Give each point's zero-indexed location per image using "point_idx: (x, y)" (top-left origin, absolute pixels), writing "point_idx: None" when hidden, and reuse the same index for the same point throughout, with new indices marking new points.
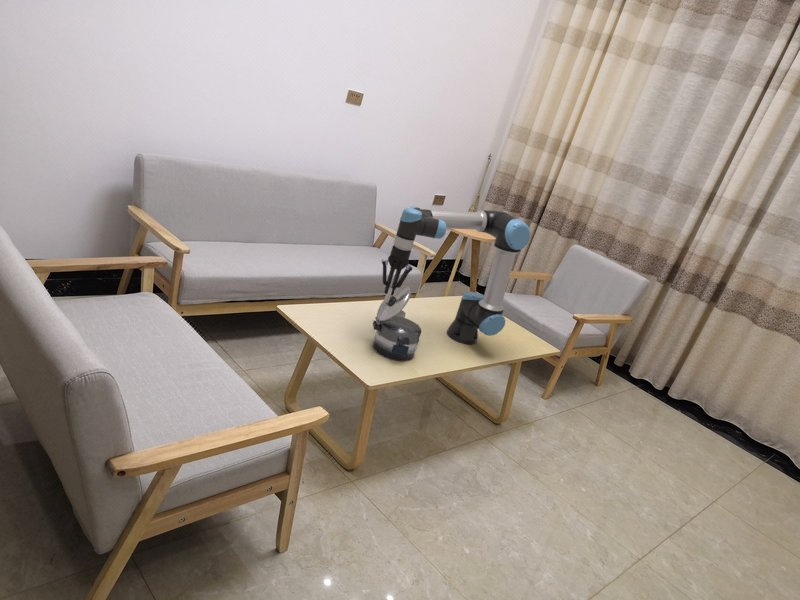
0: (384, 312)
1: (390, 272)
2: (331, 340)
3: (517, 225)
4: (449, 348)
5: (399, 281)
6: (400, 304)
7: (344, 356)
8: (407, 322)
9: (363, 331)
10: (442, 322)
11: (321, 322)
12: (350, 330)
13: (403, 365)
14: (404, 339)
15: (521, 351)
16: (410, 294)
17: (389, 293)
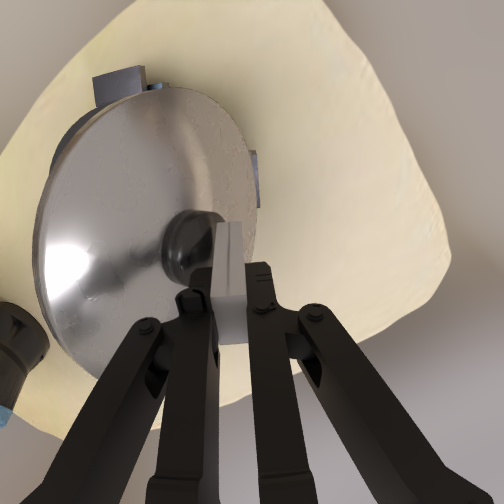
0: (227, 186)
1: (303, 452)
2: (371, 144)
3: None
4: (20, 263)
5: (152, 390)
6: (120, 133)
7: (334, 51)
8: None
9: (262, 249)
10: (70, 374)
11: (385, 246)
12: (304, 237)
13: None
14: (114, 80)
15: None
16: (34, 255)
17: (228, 261)
